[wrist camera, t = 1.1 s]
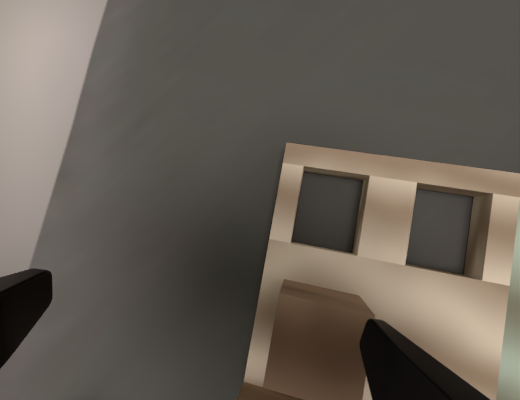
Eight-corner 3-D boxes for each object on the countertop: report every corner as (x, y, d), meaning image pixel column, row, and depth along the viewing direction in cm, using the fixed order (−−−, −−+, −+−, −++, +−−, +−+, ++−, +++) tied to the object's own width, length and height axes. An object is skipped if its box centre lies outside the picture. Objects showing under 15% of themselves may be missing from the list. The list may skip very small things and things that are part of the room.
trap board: (592, 484, 17) (682, 564, 13) (246, 383, 20) (232, 420, 16) (619, 195, 18) (709, 187, 14) (288, 150, 21) (284, 133, 18)
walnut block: (347, 373, 17) (360, 416, 14) (271, 353, 18) (262, 387, 14) (359, 295, 18) (375, 315, 14) (283, 279, 19) (279, 293, 15)
